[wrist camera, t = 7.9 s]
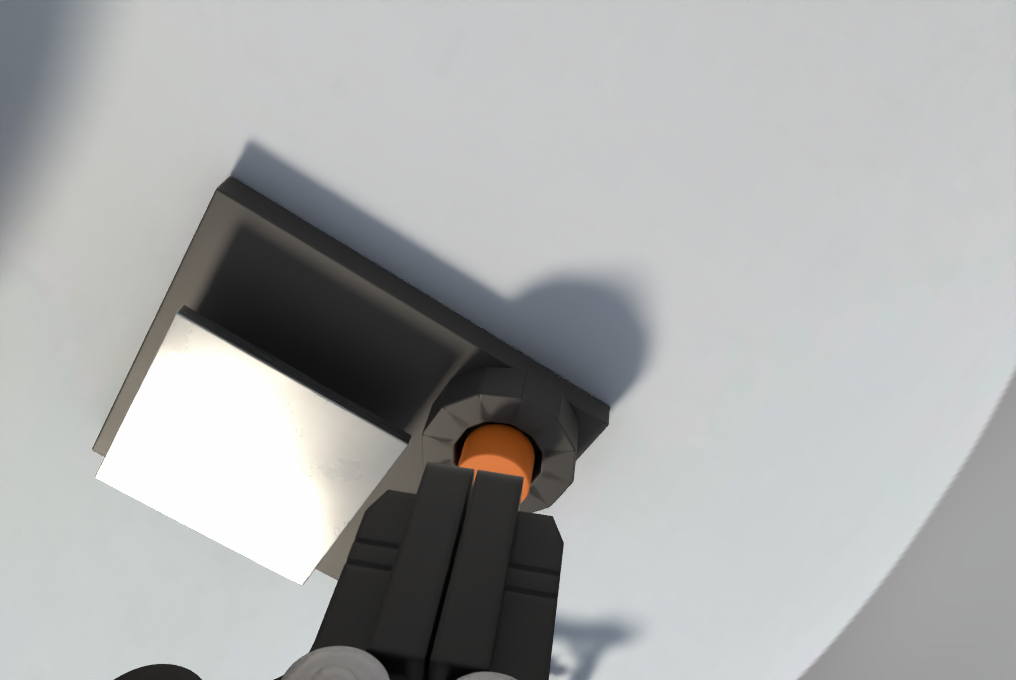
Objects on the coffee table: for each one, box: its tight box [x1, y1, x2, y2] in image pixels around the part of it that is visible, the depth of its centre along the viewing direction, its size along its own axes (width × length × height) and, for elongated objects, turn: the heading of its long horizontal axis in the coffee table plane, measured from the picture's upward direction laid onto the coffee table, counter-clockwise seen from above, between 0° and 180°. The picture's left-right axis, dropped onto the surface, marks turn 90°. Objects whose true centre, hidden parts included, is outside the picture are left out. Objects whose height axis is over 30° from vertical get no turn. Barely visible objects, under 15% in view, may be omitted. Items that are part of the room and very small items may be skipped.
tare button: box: [458, 424, 535, 503], centre depth 32 cm, size 3×3×2 cm
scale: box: [92, 176, 610, 580], centre depth 35 cm, size 16×14×3 cm
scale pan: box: [95, 305, 411, 586], centre depth 34 cm, size 9×9×1 cm
